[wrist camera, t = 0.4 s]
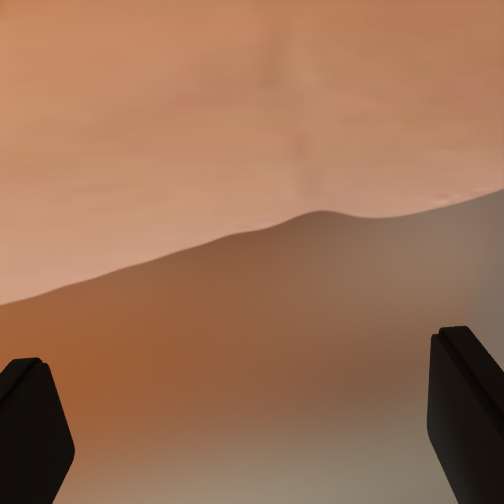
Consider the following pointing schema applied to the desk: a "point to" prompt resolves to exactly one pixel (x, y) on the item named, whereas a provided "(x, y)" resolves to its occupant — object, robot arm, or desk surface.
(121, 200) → the desk surface
